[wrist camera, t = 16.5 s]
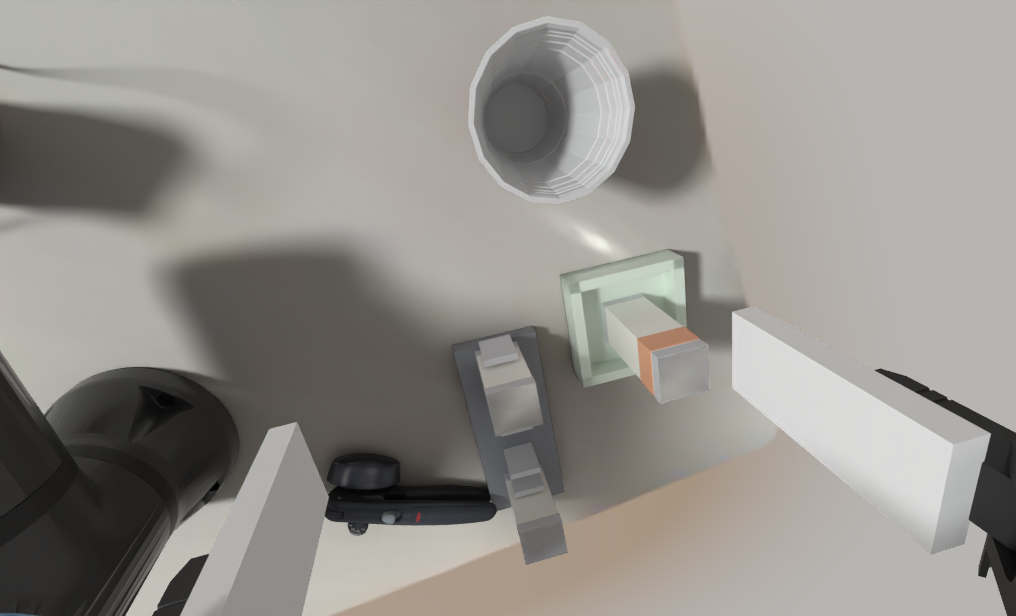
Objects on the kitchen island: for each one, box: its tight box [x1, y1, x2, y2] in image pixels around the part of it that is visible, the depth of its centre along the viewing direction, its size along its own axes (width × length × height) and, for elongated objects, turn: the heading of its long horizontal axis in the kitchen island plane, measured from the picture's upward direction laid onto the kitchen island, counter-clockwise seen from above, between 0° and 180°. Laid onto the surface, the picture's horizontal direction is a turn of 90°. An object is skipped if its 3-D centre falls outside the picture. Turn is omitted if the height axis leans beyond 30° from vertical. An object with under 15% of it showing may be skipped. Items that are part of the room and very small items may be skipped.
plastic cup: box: [468, 16, 635, 204], centre depth 35 cm, size 11×11×12 cm
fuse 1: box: [475, 341, 543, 436], centre depth 43 cm, size 4×4×8 cm
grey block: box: [504, 465, 567, 565], centre depth 49 cm, size 4×4×8 cm
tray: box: [560, 249, 687, 388], centre depth 48 cm, size 11×11×3 cm
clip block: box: [452, 326, 564, 511], centre depth 49 cm, size 8×21×6 cm, turn 11°
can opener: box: [325, 454, 497, 536], centre depth 50 cm, size 18×7×6 cm, turn 71°
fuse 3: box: [601, 293, 710, 404], centre depth 43 cm, size 4×4×12 cm
